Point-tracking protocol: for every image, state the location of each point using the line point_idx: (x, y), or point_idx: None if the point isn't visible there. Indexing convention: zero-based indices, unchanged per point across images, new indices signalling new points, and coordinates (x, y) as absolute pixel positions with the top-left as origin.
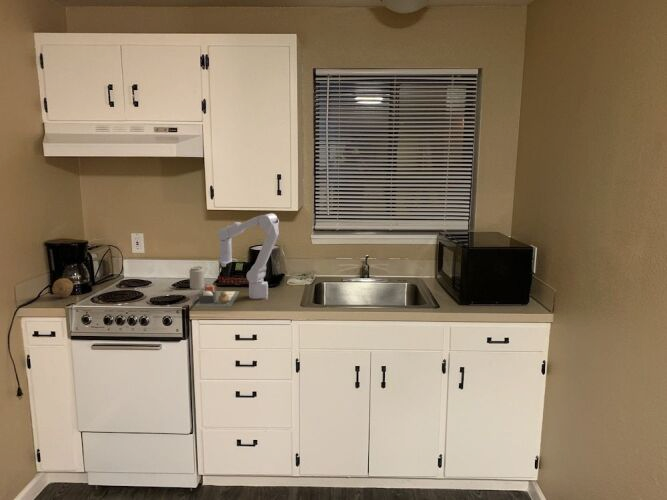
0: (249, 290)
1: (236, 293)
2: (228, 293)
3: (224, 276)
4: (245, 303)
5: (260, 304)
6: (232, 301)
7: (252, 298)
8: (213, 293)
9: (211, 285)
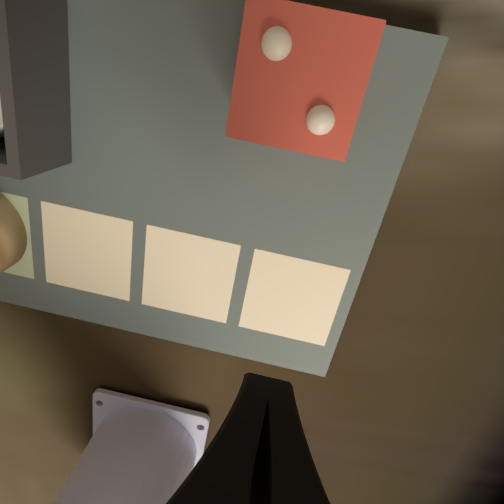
0: (97, 463)
1: (254, 346)
2: (267, 284)
3: (240, 394)
4: (33, 364)
5: (21, 433)
6: (9, 295)
7: (99, 423)
8: (14, 144)
9: (309, 117)
